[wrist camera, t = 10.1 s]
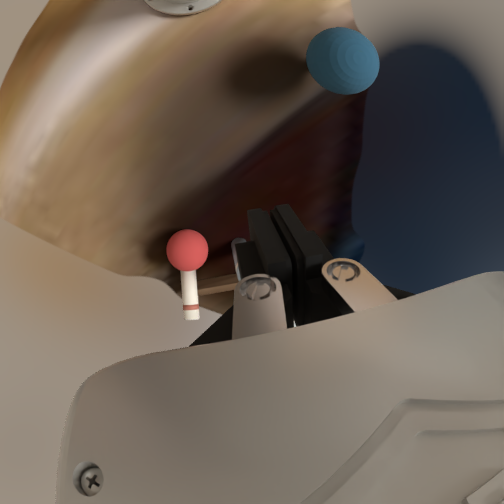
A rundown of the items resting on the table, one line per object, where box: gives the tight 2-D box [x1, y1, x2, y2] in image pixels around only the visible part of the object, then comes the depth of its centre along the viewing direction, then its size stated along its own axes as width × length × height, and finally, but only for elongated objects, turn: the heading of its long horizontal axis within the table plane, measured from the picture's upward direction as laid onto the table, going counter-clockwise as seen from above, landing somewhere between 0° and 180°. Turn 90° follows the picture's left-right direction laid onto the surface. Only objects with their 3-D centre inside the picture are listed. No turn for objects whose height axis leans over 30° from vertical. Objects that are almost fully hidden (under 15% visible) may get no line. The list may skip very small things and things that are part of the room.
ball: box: [167, 229, 208, 271], centre depth 41 cm, size 6×6×6 cm
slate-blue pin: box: [231, 238, 246, 281], centre depth 42 cm, size 2×2×8 cm
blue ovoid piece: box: [306, 27, 379, 94], centre depth 28 cm, size 8×8×12 cm
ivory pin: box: [180, 270, 200, 320], centre depth 45 cm, size 2×2×8 cm
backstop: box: [197, 274, 239, 296], centre depth 48 cm, size 1×11×2 cm, turn 96°
